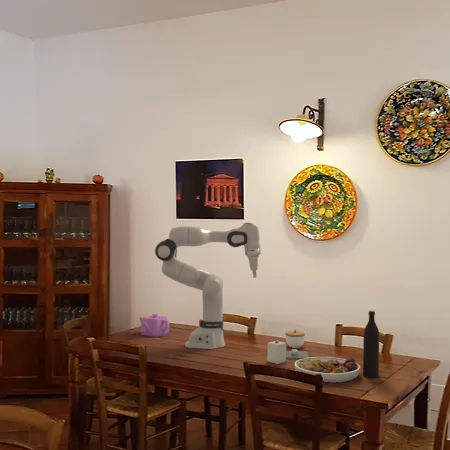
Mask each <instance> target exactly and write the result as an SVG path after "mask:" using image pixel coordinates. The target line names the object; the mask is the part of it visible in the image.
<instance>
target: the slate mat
mask: <svg viewBox="0 0 450 450" xmlns="http://www.w3.org/2000/svg"><path fill="white" fill-rule="evenodd" d="M304 358H310V356H309V353H308V352H307V351H306V350H305V351H303V350H302V351H301V350H298V349H297V348H292V349H291V350H289V351H288V350H286V360H300V359H304Z"/></svg>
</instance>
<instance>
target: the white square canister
mask: <svg viewBox="0 0 450 450" xmlns="http://www.w3.org/2000/svg"><path fill="white" fill-rule="evenodd" d="M286 351H287V342H283V341H279V340H278V339H275V340H273V341H270V342H267V354H266V355H267V358H266V359H267V360H266V361H267V362H269V363H272V364H273V363H274V364H276V365H279V364H282V363H285V362H287V359H286Z"/></svg>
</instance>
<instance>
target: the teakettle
mask: <svg viewBox="0 0 450 450" xmlns="http://www.w3.org/2000/svg"><path fill="white" fill-rule="evenodd" d="M139 321H140V334H141V336H145V337H151V338H152V337H153V338H160V337H164V336H167V335H169V331H170V320H169V319H168V317H167V316H163V315H162V316H161V315H158V313H152V315H148V316H145V317H144V316H143V317H142V316H141V317H139Z"/></svg>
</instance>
